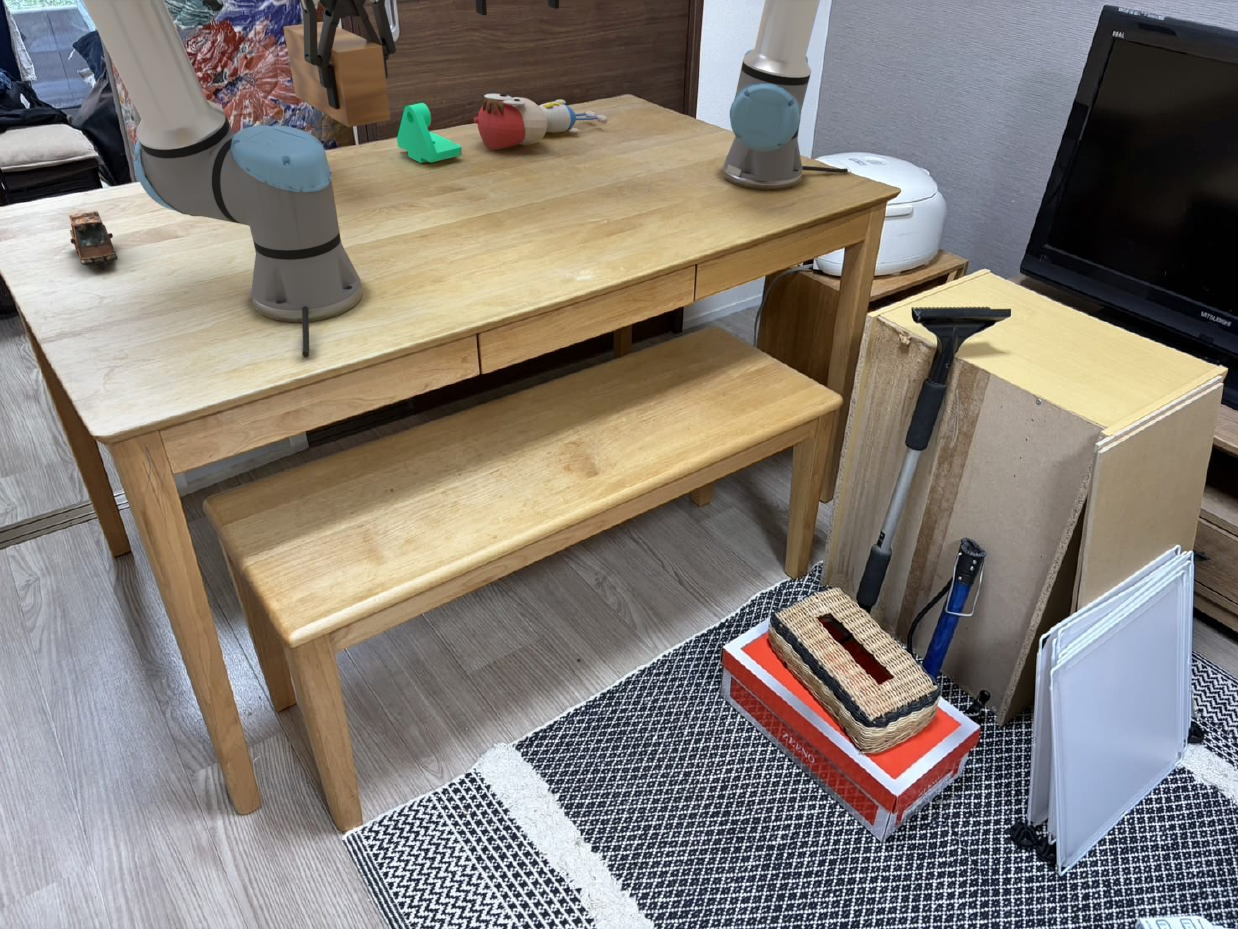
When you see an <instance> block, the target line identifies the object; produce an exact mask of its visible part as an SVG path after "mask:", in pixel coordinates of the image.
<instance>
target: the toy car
mask: <svg viewBox="0 0 1238 929" xmlns="http://www.w3.org/2000/svg"><path fill="white" fill-rule="evenodd" d="M68 217H69V219H70V227H71V229H69V233H70V236H71V238H70V243H71V244H72V245H73V246H74V248H75V251H76V254H77V255H78V258H79V260H80V264H81V265H82V266H86V267H91V266H94V265H97V266H98V268H99V270H100V271H102V272H104V271H105V265H104V264H112V263H113V262H114V261H117V260H118V255H117V251H116V250H114V244H113V242H112V240H111V239H112V238H114V235H113V233H112V232H110V233H109V232H108V230H107V228H106V225H105V224H104V223H103V220H102V219H101V218H102V217H101V216H100V213H99V211H95V210H93V211H87V212H83V213H82V212H81V213H74V214H69V215H68Z"/></svg>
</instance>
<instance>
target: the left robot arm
mask: <svg viewBox="0 0 1238 929" xmlns="http://www.w3.org/2000/svg"><path fill="white" fill-rule="evenodd" d="M366 1H367V0H299V3H300V6H301V9H302V16H303V18H302V19H303V20H302V21H303V24H304V59H305V61H306V62H308V63H310V64H312V65H316V66H317V67H318V72H319V79H320V84H321V86H322V87H324V88H326V90H327V97H328V103H329V106H331V107H332V108H334V109H340V105H339V98H338V92H337V85H336V78H335V72H334V67H332V66H330V65H329V62H330V57H331V49H332V47H333V43H334V38H335V33H336V28H337V27H338V25H339V24H340V20H341V19H346V18H347V17H351V18H354V19H355V20H356V22H357V24H358V27H359V28H360V30H361V32H362V33H363V36H364V39H366V40H367V41H370V42H372V43H376V44H378V45H380V46H382V52H383V60H384V68H385V76H386V79H388V76H389V75H388V74H389V73H388V65H387V60H389V58H390V55H391V54H392V55H394V54H395V53H396V51H397V48H396V44H395V41H394V36H393V32H392V29H391V24H390V19H389V17H388V16H389V15H388V12H387V9H386V0H369V2H370V4H371V9H372V12H373V16H374V20H375V24H376V27H377V31H378V34H377V31H376V30H375V28H374V26H373V24H372V22H371V20H370V17H369V14H368V12H367V10H366V8H365V4H366ZM82 3H83V4H84V6H85V8H86V10H87V12H88V14H89V16H90V19H91V20H92V22H93V24H94V26H95V29H96V31H97V33H98V34H99V37H100V38H101V40H102V42H103V45H104V47H105V48H106V51H107V53H108V55H109V57H110V59H111V61H112V62H113V65H114V66H115V69H116V71H117V73H118V75H119V77H120V79H121V81H122V83H123V85H124V87H125V89H126V91H127V93H128V96H129V97H130V99H131V102H132V103H133V106H134V107H135V109H136V111H137V113H138V115H139V117H140V121H139V124H138V125H137V128H136V130H135V134H136V139H137V140H136V142H135V146H134V155H135V156H136V158H137V159H136V160H134V162H133V163H134V165H133V166H134V170H135V173H136V176H137V179H138V182H139V184H140V185H141V187H142V188H143V190H144V191H145V193H146V194H147V195H148V196H149V198H150V199H152V201H154V202H155V203H157V204H158V205H159V206H161V207H163V208H165V209H168V210H170V211H175V212H177V213H179V214H182V215H187V216H190V217H203V218H210V219H213V220H219V221H224V222H230V223H233V224H239V225H244V226H248V227H249V229H250V234H251V237H252V238H251V239H252V242H253V247H254V251H255V258H254V264H253V273H252V283H251V289H250V294H251V299H252V303H253V307H254V309H255V310H256V311H257V313H259V314H260V315H262V316H264V317H266V318H268V319H271V320H275V321H281V322H289V323H301V325H302V354H301V355H302V357H303V358H308V357H309V356H310V326H309V323H310V322H314V321H315V322H316V321H320V320H326V319H330V318H332V317H336V316H338V315H341V314H343V313H345V312H348V311H349V310H351V309H353V308H354V307H355V306H356V305H357V304H358V303H359V302H360V301H361V298H362V297H363V287H362V282H361V278H360V276H359V274H358V272H357V270H356V268H355V266H354V264H353V263H352V261H351V259H350V257H349V255H348V253H347V251H346V250H345V248H344V245H343V243H342V239H341V233H340V225H339V220H338V214H337V206H336V200H335V196H334V195H335V194H334V187H333V180H332V179H333V176H332V175H333V174H332V170H331V167H330V165H329V161H328V157H327V152H326V149H325V148H324V144H322V142H321V141H320V139H318V138H317V137H316V136H314V135H313V134H311V133H310V132H307V131H305V130H303V129H300V128H296V127H292V126H288V125H280V124H279V125H277V124H276V125H274V126H271V125H268V124H261V125H253V126H247V127H245V128H243V129H240V130H238V131H237V132H236V133H235V132H234V131H233V129H232V126H231V124H230V121H229V119H228V116H227V113H226V112H225V110H224V108H223V107H222V106H221V105H219V104H218V103H216V102H213V101H211V100H209V99H208V98H207V96H206V94H205V92H204V89H203V87H202V86H201V82H200V80H199V78H198V75H197V73H196V72H195V69H194V67H193V64H192V62H191V60H190V57H189V54H188V53H187V50H186V49H185V45H184V43H183V41H182V39H181V36H180V34H179V32H178V29H177V26H176V24H175V23H174V22H175V21H174V20H173V17H172V16H171V13H170V10H169V8H168V6H167V3H166V0H82ZM319 3H320V4H321V5H322V6H323V8H324V9H323V15H322V20H323V21H322V22H323V26H322V31H321V36H320V41H319V45H318V46H317V23H318V14H317V13H318V12H317V10H318V8H319ZM378 35H379V37H378ZM379 38H380V39H379Z"/></svg>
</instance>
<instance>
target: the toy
mask: <svg viewBox="0 0 1238 929" xmlns="http://www.w3.org/2000/svg"><path fill="white" fill-rule="evenodd" d="M566 103H567V102H566V100H564V99H561V98H559V99H556V100H554V101H550V102H545V103H542V104H540V105H539V104H538V102H537V101H535V100H533V99H529V98H526V97H521V96H514V97H512V96H510V95H508V94H505V93H487V94H484V99H483V101H482V106H481V107H480V109H479V112H478V115H477V116H475V117H473V122H474V123H475V124H477V129H478V133H479V135H480V138H481V140H482V142H483V144H484V145H485V146H486V148H488V149H490V150H502V149H508V148H510V147H514V146H517V145H521V146H530V145H533V144H537V143H538V142H539V141H541V140H542V139H543V138H544V137H545V135H546V133H551V134H557V133H563V132H566V131H568V132H569V133H570V134H572V135H573V134H575V135H577V134H578V133H580V130H579V129H578V128H576V127H574V125H575V124H576V122H577V121H594V120H597V122H599V123H602V124H607V123H608V121H609V119H608V117H607V116H606V115H603V114H598V115H597V114H596V113H595V111H591V110H587V111H585V112H582V113H581V112H580V113H575V111H574V109H572V107H570V106H569V105H567V104H566ZM583 116H585V117H583Z"/></svg>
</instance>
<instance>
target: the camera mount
mask: <svg viewBox="0 0 1238 929" xmlns="http://www.w3.org/2000/svg"><path fill="white" fill-rule="evenodd" d="M431 123H432V114H431V111H430V109H429V107H428V106H427V104H425V103H424V102H419V103H414V104H409V105H406V106H405V107H404V110H403V114H402V117H401V121H400V125H399V129H398V133H397V137H396V143H397V147H398V148H400V149H402V150H404V151H406V152H407V156H408V158H410V159H412V160H413V161H416V162H418V163H420V164H424V163H427V162H428V163H435V162H438V161H439V162H440V161H443V160H447V159H452V158H456V157H459V156H461V155H463V153H462V151H463V150H462V145H461V144H458V143H457V142H454V141H452V140H449V139H447V138H445V137H443V136H441V135H439V134H437V133H434V132H431V131H430V130H429V128H428V127H429V126H430V125H431Z"/></svg>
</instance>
